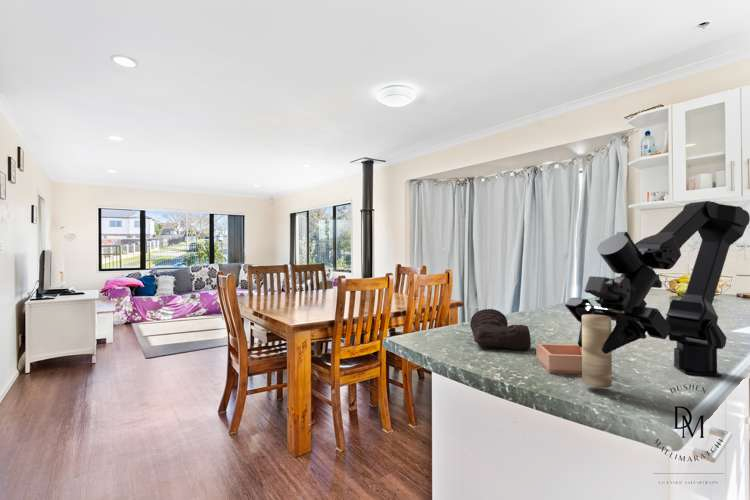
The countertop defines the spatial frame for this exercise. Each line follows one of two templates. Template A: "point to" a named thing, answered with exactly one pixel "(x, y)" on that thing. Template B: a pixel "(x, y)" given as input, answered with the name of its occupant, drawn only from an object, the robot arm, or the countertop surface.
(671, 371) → the countertop surface
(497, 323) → the dark brown elbow
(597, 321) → the beech dowel
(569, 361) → the box
